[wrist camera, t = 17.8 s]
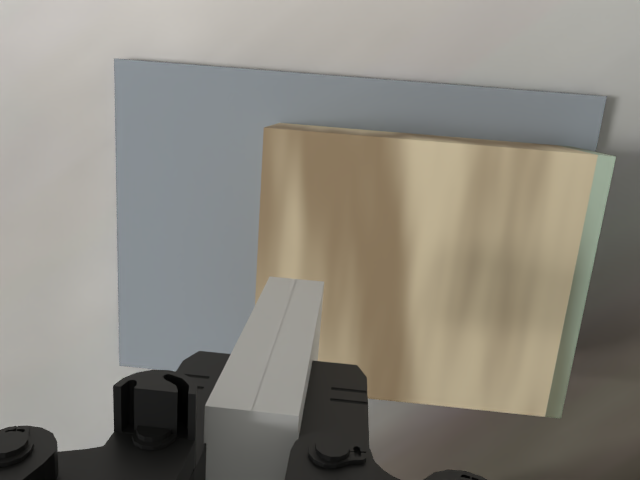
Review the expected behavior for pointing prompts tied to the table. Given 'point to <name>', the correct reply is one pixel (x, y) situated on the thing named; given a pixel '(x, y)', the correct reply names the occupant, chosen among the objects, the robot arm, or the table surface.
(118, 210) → the mat
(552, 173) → the slab
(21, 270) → the table surface
